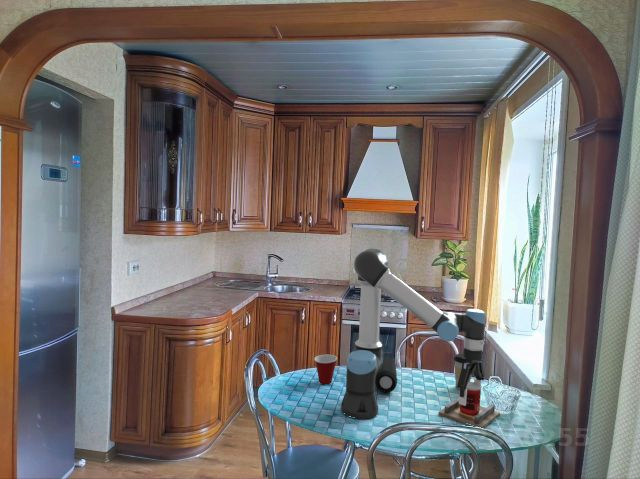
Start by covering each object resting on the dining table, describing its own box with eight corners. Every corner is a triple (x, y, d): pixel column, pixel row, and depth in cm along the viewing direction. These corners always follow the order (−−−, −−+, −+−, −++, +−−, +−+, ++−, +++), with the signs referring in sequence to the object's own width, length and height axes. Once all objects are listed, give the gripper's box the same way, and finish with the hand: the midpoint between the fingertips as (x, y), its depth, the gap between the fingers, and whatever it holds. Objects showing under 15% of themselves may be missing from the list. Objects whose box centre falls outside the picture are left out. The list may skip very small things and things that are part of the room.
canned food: (475, 407, 195) (476, 381, 194) (482, 416, 187) (484, 389, 186) (456, 407, 194) (458, 381, 194) (463, 415, 186) (465, 388, 186)
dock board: (481, 429, 178) (482, 420, 178) (438, 414, 190) (438, 405, 190) (500, 415, 191) (500, 406, 191) (458, 401, 203) (458, 393, 203)
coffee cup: (450, 388, 218) (451, 357, 217) (454, 382, 226) (456, 351, 225) (471, 393, 214) (473, 360, 213) (474, 386, 222) (476, 355, 221)
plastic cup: (310, 379, 223) (311, 354, 222) (331, 377, 226) (332, 353, 226) (317, 388, 213) (318, 362, 212) (339, 386, 216) (340, 360, 215)
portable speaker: (375, 373, 234) (376, 354, 234) (395, 375, 233) (396, 355, 232) (374, 393, 209) (375, 371, 208) (396, 395, 208) (397, 373, 207)
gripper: (468, 357, 177) (465, 411, 178) (494, 344, 196) (491, 394, 197) (450, 352, 182) (446, 405, 183) (477, 340, 201) (473, 389, 202)
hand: (469, 399), depth 190 cm, fingers open, 13 cm apart
